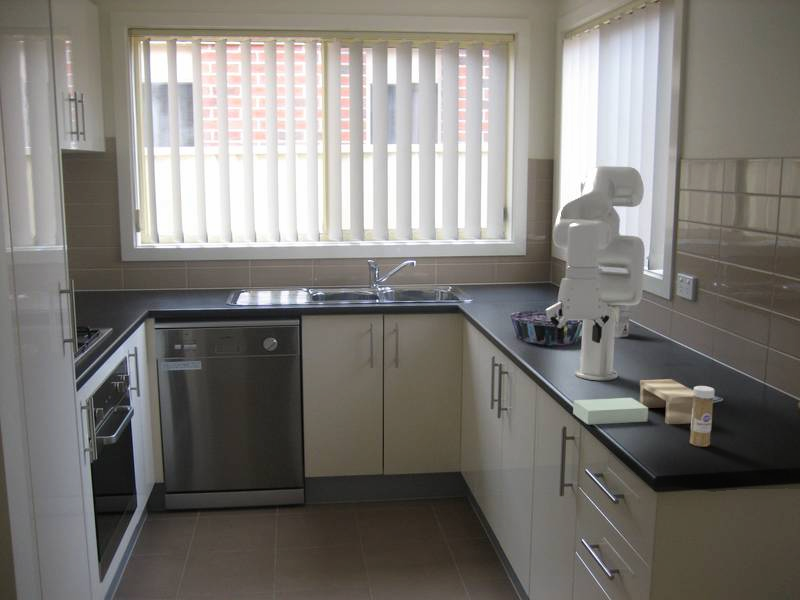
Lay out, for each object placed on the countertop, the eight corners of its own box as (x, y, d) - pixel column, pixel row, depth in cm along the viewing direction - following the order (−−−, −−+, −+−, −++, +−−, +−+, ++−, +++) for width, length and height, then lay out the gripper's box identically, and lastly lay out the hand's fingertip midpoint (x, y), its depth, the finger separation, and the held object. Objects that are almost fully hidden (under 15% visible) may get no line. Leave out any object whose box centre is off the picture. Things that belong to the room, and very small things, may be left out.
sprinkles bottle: (699, 448, 193) (703, 391, 191) (685, 442, 197) (689, 386, 195) (714, 445, 195) (719, 389, 193) (700, 439, 199) (704, 384, 197)
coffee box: (598, 333, 316) (600, 290, 313) (610, 331, 319) (612, 289, 317) (617, 338, 308) (620, 294, 306) (629, 336, 312) (632, 293, 309)
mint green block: (573, 413, 218) (573, 400, 217) (630, 410, 221) (631, 397, 220) (587, 424, 209) (588, 410, 208) (647, 421, 212) (648, 407, 212)
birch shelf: (638, 405, 225) (640, 380, 224) (669, 404, 227) (671, 379, 226) (669, 424, 210) (671, 397, 209) (702, 423, 212) (704, 396, 210)
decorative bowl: (561, 335, 321) (561, 309, 320) (600, 345, 295) (600, 317, 294) (499, 338, 313) (499, 311, 312) (533, 349, 287) (534, 320, 286)
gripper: (607, 271, 211) (603, 338, 214) (542, 271, 208) (538, 340, 210) (621, 275, 204) (617, 344, 207) (554, 275, 200) (550, 346, 203)
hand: (577, 342), depth 209 cm, fingers open, 9 cm apart
